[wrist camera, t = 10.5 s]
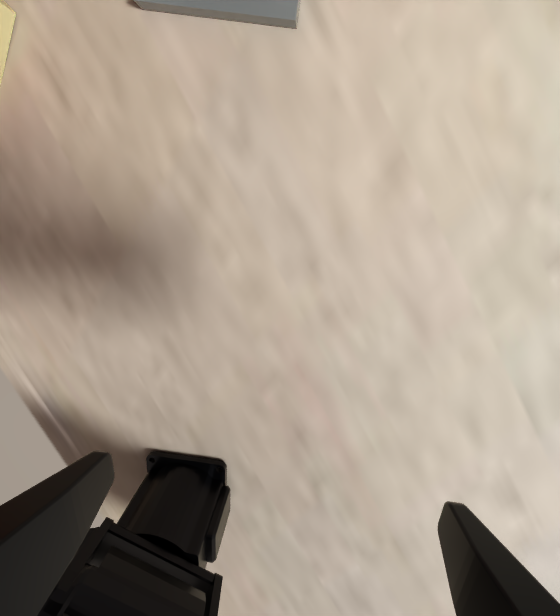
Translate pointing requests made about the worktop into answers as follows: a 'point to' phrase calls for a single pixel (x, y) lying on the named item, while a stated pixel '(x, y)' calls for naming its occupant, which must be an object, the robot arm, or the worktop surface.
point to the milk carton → (5, 33)
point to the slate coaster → (232, 10)
